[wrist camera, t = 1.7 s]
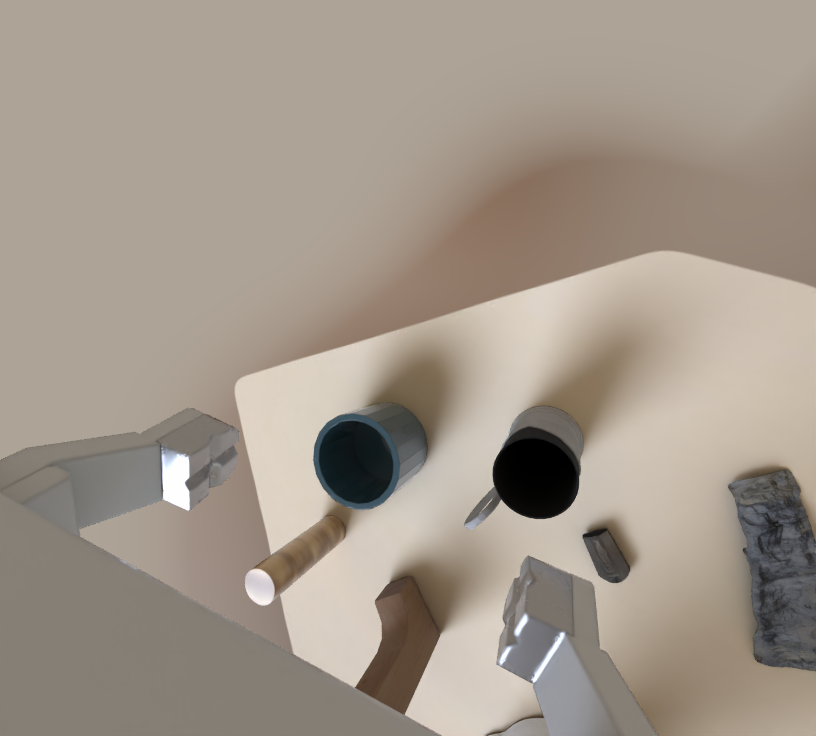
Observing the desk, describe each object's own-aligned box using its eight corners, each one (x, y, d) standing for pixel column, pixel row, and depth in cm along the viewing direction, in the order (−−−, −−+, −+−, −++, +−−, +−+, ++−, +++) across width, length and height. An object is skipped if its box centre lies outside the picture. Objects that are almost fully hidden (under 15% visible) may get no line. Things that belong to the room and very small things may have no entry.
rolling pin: (344, 547, 63) (273, 610, 48) (319, 539, 65) (243, 598, 50) (346, 519, 63) (275, 574, 48) (321, 512, 64) (245, 563, 49)
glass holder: (600, 446, 49) (610, 487, 35) (511, 515, 54) (489, 576, 40) (546, 391, 51) (536, 409, 37) (464, 463, 56) (428, 503, 42)
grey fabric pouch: (723, 471, 45) (730, 477, 43) (803, 467, 43) (814, 474, 41) (753, 660, 45) (761, 675, 43) (835, 667, 43) (847, 683, 41)
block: (607, 524, 50) (608, 530, 48) (633, 572, 49) (635, 580, 47) (577, 534, 51) (578, 540, 49) (603, 580, 50) (604, 589, 48)
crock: (423, 491, 58) (394, 520, 49) (349, 474, 62) (310, 497, 53) (431, 409, 57) (403, 422, 48) (355, 397, 61) (316, 407, 52)
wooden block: (386, 583, 61) (316, 675, 44) (412, 574, 59) (348, 665, 43) (415, 643, 60) (353, 760, 43) (441, 635, 58) (388, 753, 41)
